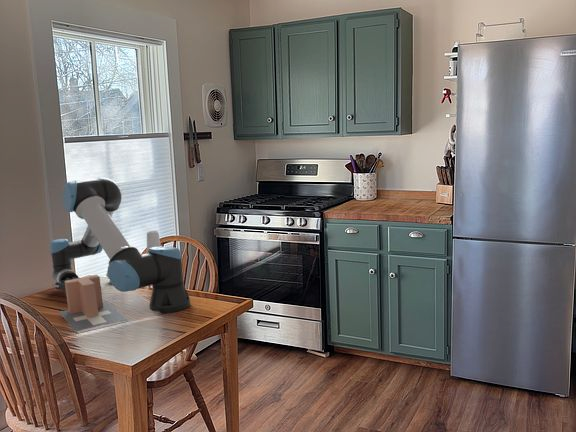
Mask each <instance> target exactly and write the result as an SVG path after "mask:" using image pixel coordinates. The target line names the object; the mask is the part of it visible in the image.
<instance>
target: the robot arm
mask: <svg viewBox="0 0 576 432" xmlns="http://www.w3.org/2000/svg"><path fill="white" fill-rule="evenodd" d="M122 198H123V197H122V190H121V188H120V186H119V184H117V183H116V182H115V181H114V180H112V179H110V178H108V177H98V178H87V179H80V180H79V179H78V180H72V181H68V182H66V183H65V184H64V186H63V188H62V204H63V207H64V210H65V211H66V212H68V213H73V212H74V213H75V214H76V216H77V217H78V219H81V220H84V221H85V223H86V224H87V226H86V230H85V232H84V234H83V236H82V238H81V240H75V241H69V239H67V238H59V239H53V240H52V241H50V254H51V261H52V268H53V269H52V278H53V279H54V280H55V283H54V284H55V289H56V290H61V291H63V292H66V289H65V281H67V280H72V279H77V278H80V277H79V276H78V274H77V273H75V272H74V271H73V268H72V260H74V259H79V258H83V257H89V256H95V255H97V254H101V253H102V251H104V253H105V254H106V256H107V257H108V258H109V260H108V266H107V271H108V276H109V277H110V278H108V279H109V282H110V283H111V285H112V286H113V287H114V288H115V289H116V290H117V291H119V292H122V293H125V292H133V291H136V290H138V289H142V288H145V287H151V286H152V288H151V289H152V291H151V296H150V300H149V304H148V305H149V309H150V310H152V311H155V312H160V313H161V314H167V313H168V314H170V313H176V312H179V311H183V310H185V309H187V308H189V307H190V306H191V299H190V296H189V294H188V293H189V292H188V291H187V290H186V287H185V283H184V282H185V281H184V272H183V263H182V262H183V261H182V260H183V259H182V255H181V250H180V248H177V247H174V246H161V247H151V248H149V250H148V252H149V253H147V252H146V253H143V254H141V253H140V251H139V250H138V248H137V247H135V246H131V245H130V244H129V242H128V241H127V239H126V238H125V236H124V235H123V233H122V231H120V229H119V227H118V226H117V224H116V223H115V221H114V220H113V218H112V216H113V215H114V212H116V211H118V210H119V208H120V206H121V203H122Z"/></svg>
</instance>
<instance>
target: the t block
mask: <svg viewBox="0 0 576 432" xmlns="http://www.w3.org/2000/svg"><path fill="white" fill-rule="evenodd" d="M101 285H102V284H101V278H100V276H99V275H98V274H95V275H93V274H92V275H88V276H84V277H83V276H82V277H79V278H77V279H72V280H67V281H65V289H66V291H65V295H66V303H67V310H68V311H69V313H70V314H74V313H78V312H83V313H84V315H85V316H86V317H87V318H88V317H92V316H97V315H99V314H98V308H101V307H103V302H104V301H103V295H102V294H103V293H102V286H101Z"/></svg>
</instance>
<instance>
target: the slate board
mask: <svg viewBox="0 0 576 432" xmlns="http://www.w3.org/2000/svg"><path fill="white" fill-rule="evenodd" d="M58 313H59V314H60V315H61V316H62V317H63V318H64V320H65V321H66V323H67V324H68V325H69V326H70V328H72V331H74V332H78V333H76V335H77V334H79V331H82V330H83V331H82V332H80V334H82V333H87V332H90V331H92V328H94V329H93V331H95V330H96V329H95V327H99V328H97V330H98V329H103V328H108V327H109V324H112V325H110V327H112V326H113V323H116V324H114V326H116V325H120V324H124V323H126V321H125V320H128V318H127V317H125V316H124V315H123V314H122V313H121V312H119V310H117V309H116V308H115V307H114V306H113V305H112V304H110V303H109V302H108V301H103V307H101V308H98V314H99V315H97V316H92V317H88V318H87V317H86V316H85V315H84V313H83V312H78V313H74V314H70V313H69V311H68V309H65V310H61V311H58ZM122 321H124V322H122ZM117 322H120V323H117ZM104 325H107V326H104ZM100 326H103V327H100ZM88 329H90V330H88ZM84 330H86V331H84Z"/></svg>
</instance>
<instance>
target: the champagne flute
mask: <svg viewBox="0 0 576 432" xmlns="http://www.w3.org/2000/svg"><path fill="white" fill-rule="evenodd" d="M161 244H162V243H161V240H160V234H159V231H158V230H149V231H147V232H146V254H147V253H149V252H148V250H149V248H151V247H162V245H161ZM150 288H151V289H153V288H152V285H150Z"/></svg>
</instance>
